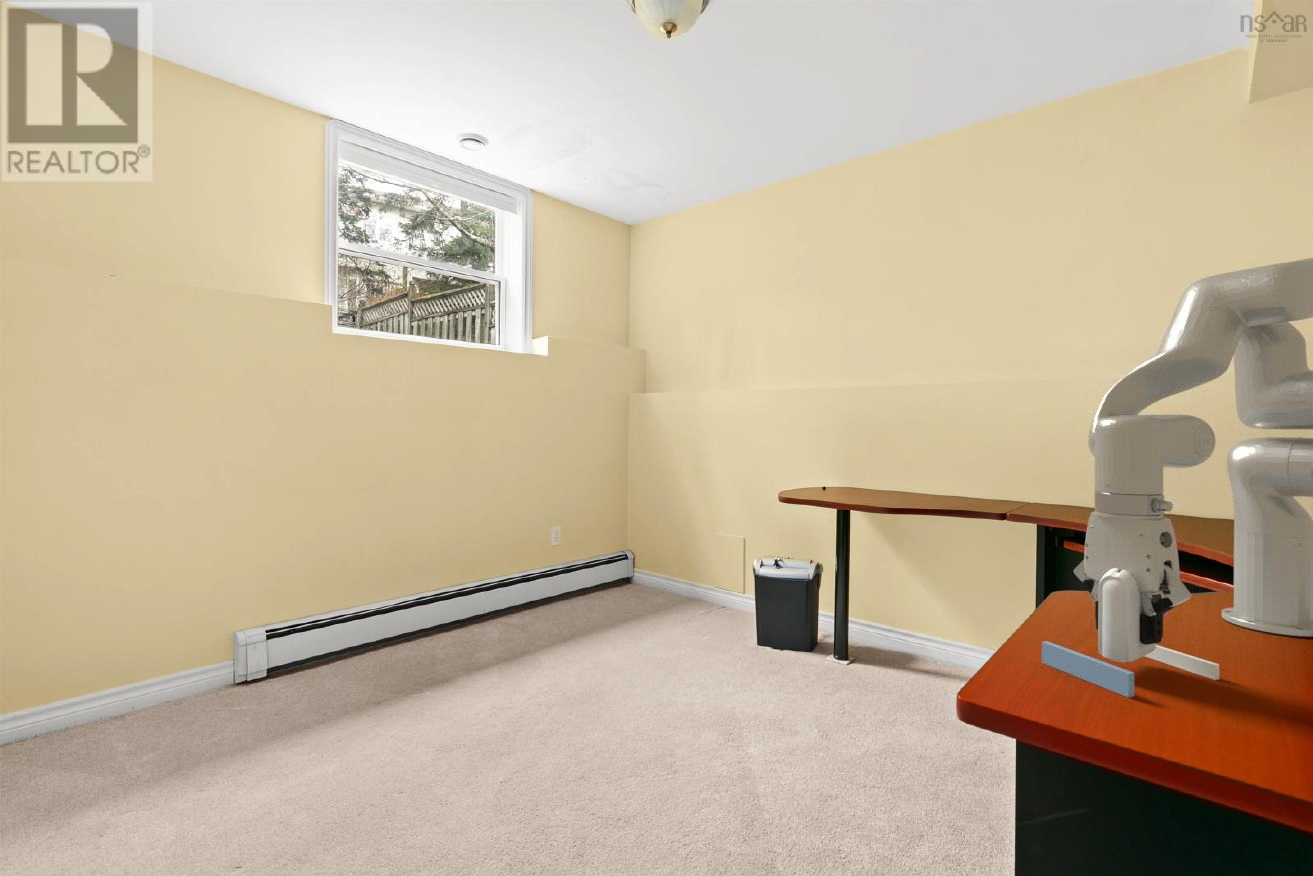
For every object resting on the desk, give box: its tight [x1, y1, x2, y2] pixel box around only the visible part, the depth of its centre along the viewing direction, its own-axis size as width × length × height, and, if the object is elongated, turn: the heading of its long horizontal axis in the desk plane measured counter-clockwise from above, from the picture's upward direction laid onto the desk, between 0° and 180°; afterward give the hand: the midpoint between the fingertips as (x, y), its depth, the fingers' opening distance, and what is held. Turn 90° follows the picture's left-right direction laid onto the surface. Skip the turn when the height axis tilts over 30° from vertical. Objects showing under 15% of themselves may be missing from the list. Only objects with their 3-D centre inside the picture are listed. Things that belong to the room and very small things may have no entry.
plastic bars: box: [1041, 640, 1220, 699], centre depth 84 cm, size 17×12×3 cm
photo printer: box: [1097, 568, 1157, 663], centre depth 84 cm, size 10×4×12 cm, turn 123°
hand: (1127, 634), depth 84 cm, fingers closed on photo printer, 5 cm apart
